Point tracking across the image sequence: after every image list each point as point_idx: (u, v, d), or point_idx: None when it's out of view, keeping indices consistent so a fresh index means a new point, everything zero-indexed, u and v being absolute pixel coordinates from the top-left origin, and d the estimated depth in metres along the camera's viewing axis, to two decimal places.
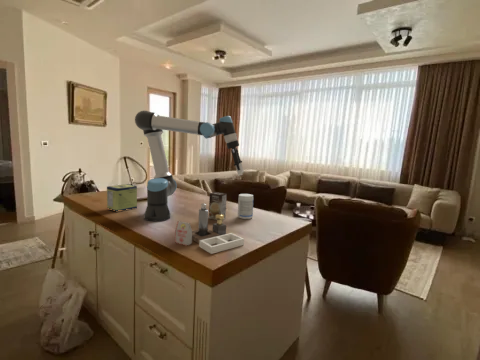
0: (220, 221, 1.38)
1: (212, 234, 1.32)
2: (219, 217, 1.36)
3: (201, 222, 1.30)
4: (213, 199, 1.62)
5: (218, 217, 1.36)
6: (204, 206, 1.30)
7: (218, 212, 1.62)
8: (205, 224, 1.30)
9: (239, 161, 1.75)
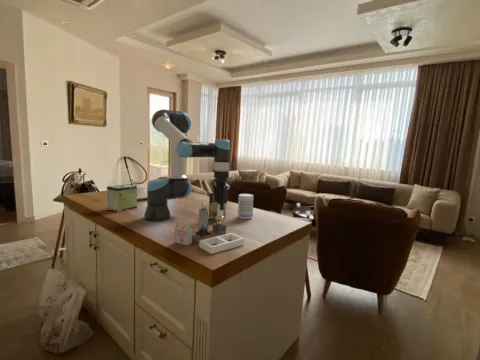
0: (220, 222, 1.38)
1: (212, 234, 1.32)
2: (219, 218, 1.36)
3: (201, 222, 1.30)
4: (213, 199, 1.62)
5: (218, 218, 1.36)
6: (204, 206, 1.30)
7: None
8: (205, 224, 1.30)
9: (220, 201, 1.38)
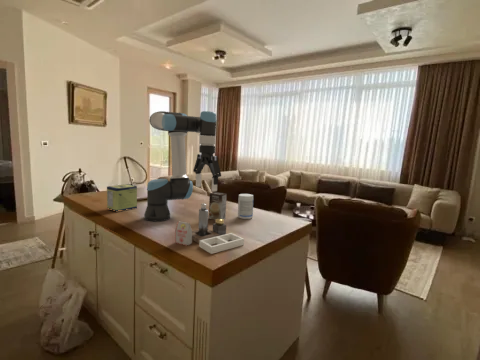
0: None
1: (212, 234, 1.32)
2: (219, 222, 1.36)
3: (201, 222, 1.30)
4: (213, 199, 1.62)
5: (218, 222, 1.36)
6: (204, 206, 1.30)
7: (218, 212, 1.62)
8: (205, 224, 1.30)
9: (199, 171, 1.35)
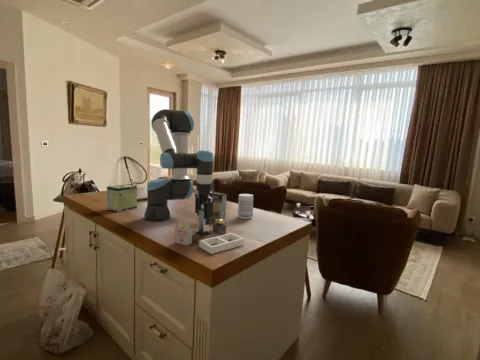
0: None
1: (212, 234, 1.32)
2: (219, 222, 1.36)
3: (201, 222, 1.30)
4: None
5: (218, 222, 1.36)
6: None
7: (218, 212, 1.62)
8: None
9: None
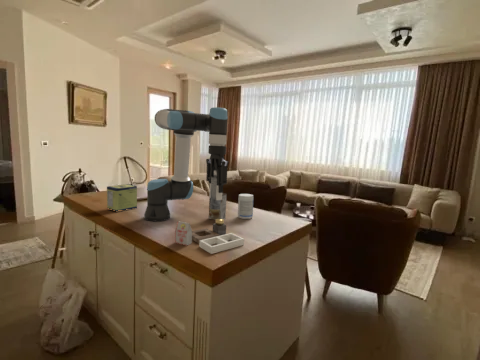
0: None
1: (212, 234, 1.32)
2: (219, 222, 1.36)
3: (214, 190, 1.15)
4: None
5: (218, 222, 1.36)
6: None
7: (218, 212, 1.62)
8: None
9: None
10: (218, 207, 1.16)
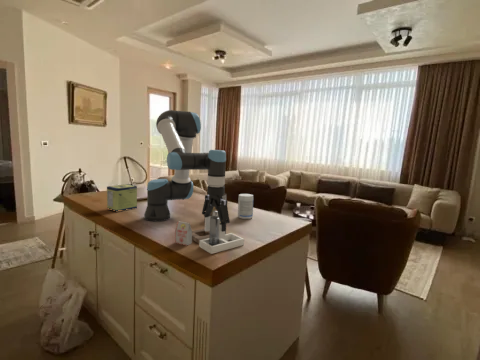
0: None
1: None
2: None
3: (213, 231, 1.17)
4: None
5: None
6: (216, 214, 1.17)
7: None
8: (217, 233, 1.18)
9: (208, 214, 1.23)
10: None
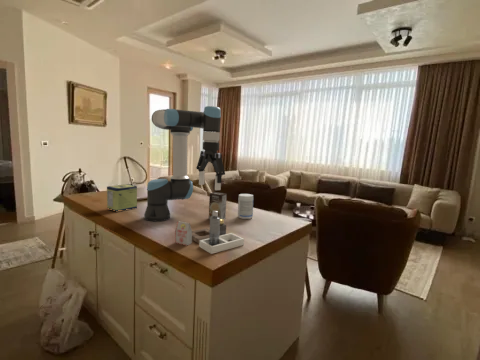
0: None
1: None
2: None
3: (212, 231, 1.17)
4: (213, 199, 1.62)
5: None
6: (216, 214, 1.17)
7: (218, 212, 1.62)
8: (217, 233, 1.18)
9: (202, 169, 1.30)
10: None
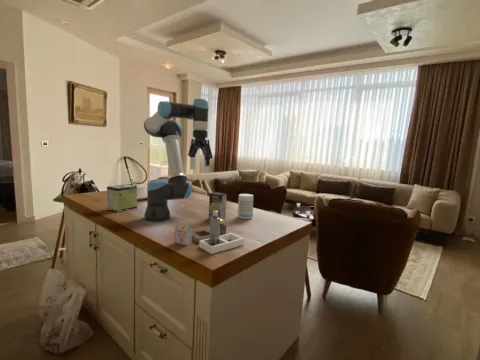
0: None
1: None
2: None
3: (213, 231, 1.17)
4: (213, 199, 1.62)
5: None
6: (216, 213, 1.17)
7: (218, 212, 1.62)
8: (217, 233, 1.18)
9: (193, 155, 1.46)
10: None
